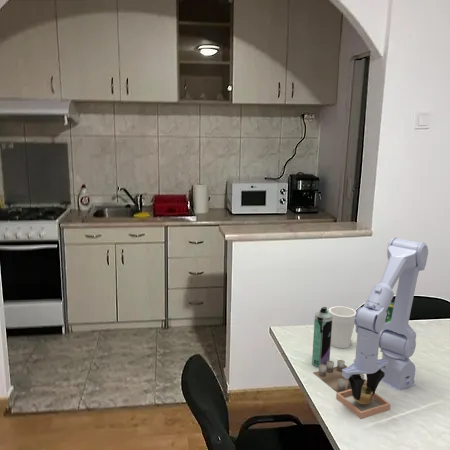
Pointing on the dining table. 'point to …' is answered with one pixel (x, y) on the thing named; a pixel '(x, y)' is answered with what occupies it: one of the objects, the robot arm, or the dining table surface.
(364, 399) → the brass nut
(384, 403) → the terracotta tray
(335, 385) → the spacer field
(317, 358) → the spray can
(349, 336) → the foam cup
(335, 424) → the dining table surface
